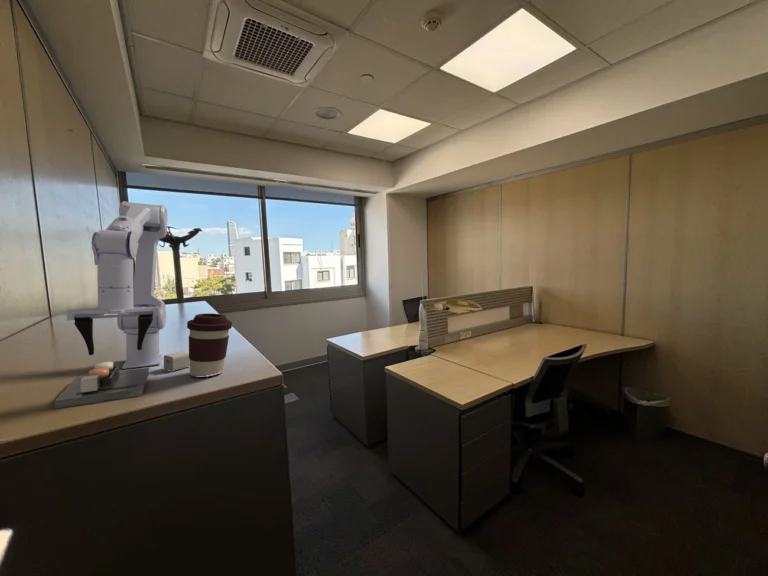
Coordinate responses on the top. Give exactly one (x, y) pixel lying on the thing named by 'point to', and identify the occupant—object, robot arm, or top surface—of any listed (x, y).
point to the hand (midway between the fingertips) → (116, 351)
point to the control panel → (105, 388)
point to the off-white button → (104, 365)
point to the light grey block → (90, 383)
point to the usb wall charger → (176, 361)
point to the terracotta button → (100, 372)
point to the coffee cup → (208, 343)
